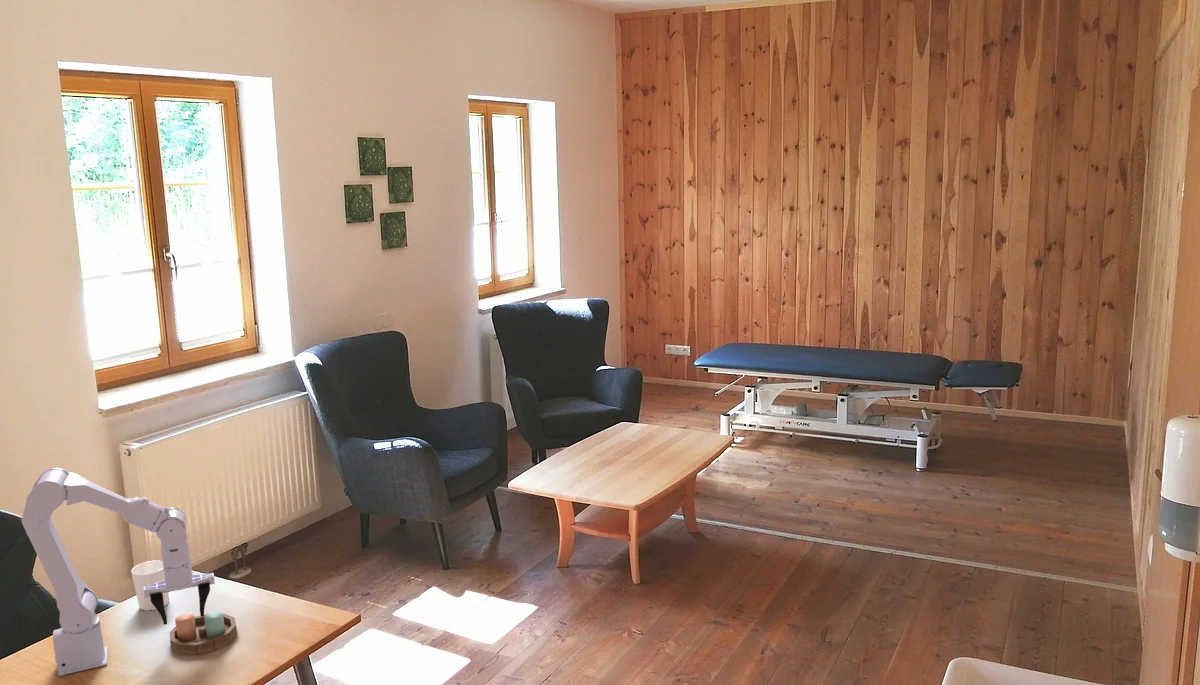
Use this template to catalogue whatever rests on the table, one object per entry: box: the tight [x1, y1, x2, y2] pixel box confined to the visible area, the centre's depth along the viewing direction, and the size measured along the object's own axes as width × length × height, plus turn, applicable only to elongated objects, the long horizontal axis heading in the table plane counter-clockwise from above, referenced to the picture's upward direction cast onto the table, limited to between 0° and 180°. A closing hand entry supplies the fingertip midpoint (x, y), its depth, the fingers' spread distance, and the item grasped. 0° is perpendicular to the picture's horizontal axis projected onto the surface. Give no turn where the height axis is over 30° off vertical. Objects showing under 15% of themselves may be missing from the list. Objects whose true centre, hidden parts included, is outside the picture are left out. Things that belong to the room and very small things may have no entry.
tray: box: [169, 613, 238, 656], centre depth 221 cm, size 14×14×2 cm
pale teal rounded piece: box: [204, 611, 225, 640], centre depth 219 cm, size 4×4×5 cm
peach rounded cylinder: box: [174, 613, 197, 642], centre depth 219 cm, size 4×4×5 cm
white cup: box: [131, 559, 170, 612], centre depth 237 cm, size 8×8×10 cm
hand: (183, 618), depth 218 cm, fingers open, 7 cm apart
